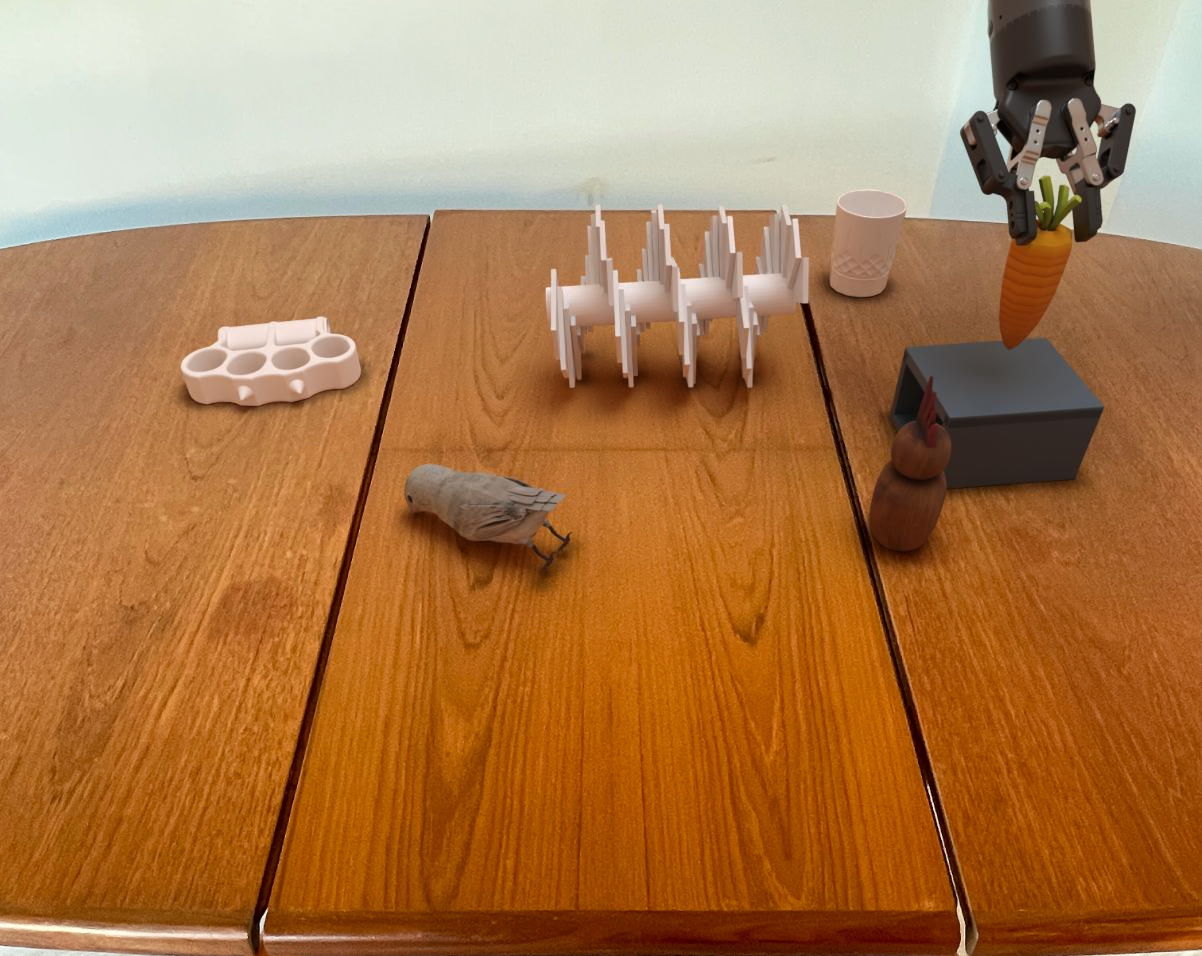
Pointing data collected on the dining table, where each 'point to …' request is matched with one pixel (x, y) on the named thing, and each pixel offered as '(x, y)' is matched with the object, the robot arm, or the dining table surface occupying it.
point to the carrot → (1036, 267)
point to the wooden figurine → (912, 481)
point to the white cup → (865, 241)
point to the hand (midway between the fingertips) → (1056, 239)
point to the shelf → (1001, 410)
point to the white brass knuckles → (271, 363)
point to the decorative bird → (483, 505)
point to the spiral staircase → (679, 293)
